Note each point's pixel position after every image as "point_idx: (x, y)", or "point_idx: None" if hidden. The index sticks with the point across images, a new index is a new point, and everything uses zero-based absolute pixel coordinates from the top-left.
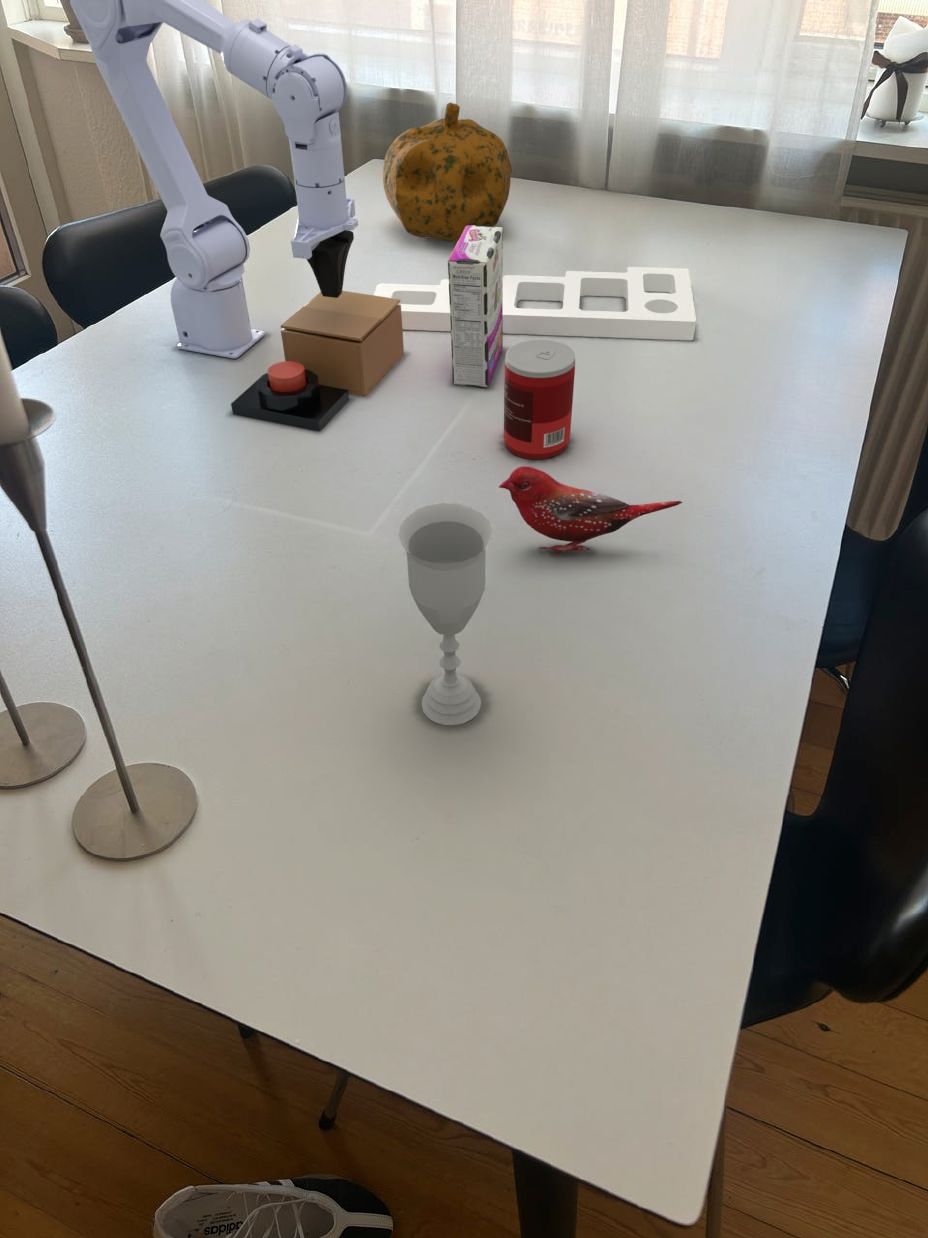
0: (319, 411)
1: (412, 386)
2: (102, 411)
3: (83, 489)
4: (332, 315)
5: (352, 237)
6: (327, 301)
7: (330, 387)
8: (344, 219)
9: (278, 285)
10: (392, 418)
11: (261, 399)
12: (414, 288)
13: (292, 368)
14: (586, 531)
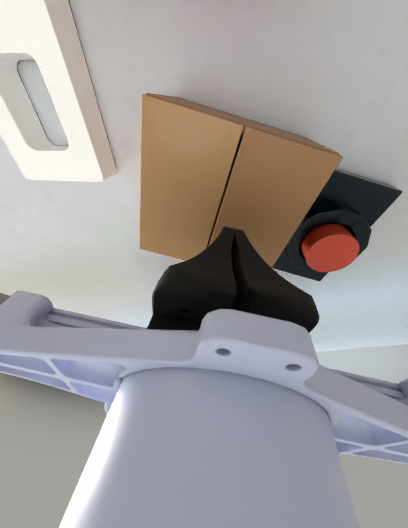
0: (374, 194)
1: (286, 48)
2: None
3: (402, 336)
4: (231, 225)
5: (195, 276)
6: (180, 238)
7: None
8: (269, 401)
9: (74, 273)
10: (400, 67)
11: None
12: (1, 112)
13: (331, 248)
14: None
